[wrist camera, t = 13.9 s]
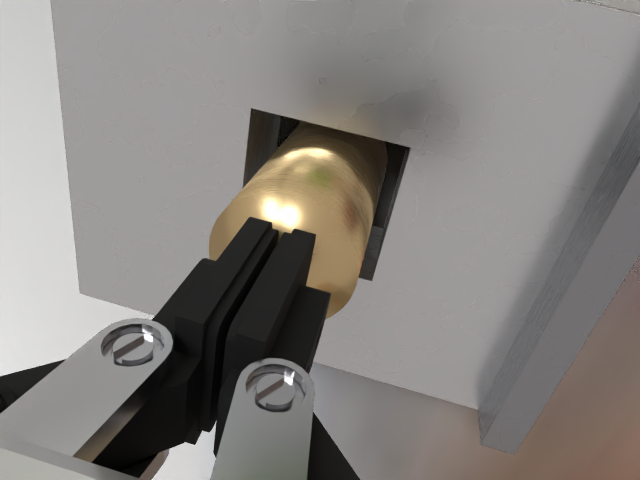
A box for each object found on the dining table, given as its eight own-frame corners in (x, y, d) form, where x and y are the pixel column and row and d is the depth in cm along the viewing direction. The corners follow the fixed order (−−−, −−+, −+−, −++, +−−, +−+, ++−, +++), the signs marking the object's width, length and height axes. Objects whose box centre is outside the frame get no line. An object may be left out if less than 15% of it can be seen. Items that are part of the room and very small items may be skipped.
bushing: (296, 96, 19) (213, 174, 12) (399, 121, 18) (374, 217, 11) (282, 190, 21) (204, 302, 14) (373, 214, 20) (341, 341, 13)
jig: (121, -97, 17) (-7, -120, 12) (665, 19, 15) (771, 46, 10) (131, 246, 24) (54, 317, 19) (498, 349, 22) (514, 454, 17)
